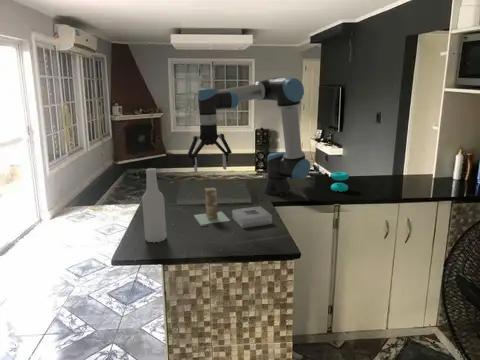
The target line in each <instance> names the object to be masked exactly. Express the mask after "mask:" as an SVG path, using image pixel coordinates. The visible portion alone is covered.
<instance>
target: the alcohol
mask: <svg viewBox="0 0 480 360" xmlns="http://www.w3.org/2000/svg"><path fill="white" fill-rule="evenodd" d="M145 174H146V175H145V176H146V180H145V181H146V182H145V183H146V189H145V192H144V193H143V196H142V197H141V198H142V199H141V204H142V206H141V207H142V216H143V228H144V230H143V231H144V239H145V241H146V242H148V243H150V242H153V243H152V244H154V243H155V242H158V243H161V241H162V242H164V241H165V240H166V238H167V237H168V236H167V221H166V207H165V197H164V194H163V193H162V192H161V191H160V190H159V185H158V179H157V169H156V167H155V168H153V167H148V168H147V169H145ZM155 244H156V243H155Z"/></svg>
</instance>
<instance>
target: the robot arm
mask: <svg viewBox="0 0 480 360" xmlns="http://www.w3.org/2000/svg"><path fill="white" fill-rule="evenodd" d="M197 93H198V95H197V102H198V112H199V119H198V120H199V124H200V125H199V133H200V135H193V137H192V143H191V145H190V147H189V149H188V152H187V154H186V156H187V157H188V158H190V159H191V165H192V166H193V167H194V170H193V171H194V173H195V174H196V173H197V174H198V160H197V155H198V154H199V153H200V151H201V150H202V149H203V147H205V146H209V145H210V146H213V145H215V146H216V147H217V148H218V149H219V150H220V151H221V152H222V153H223V154H222V169H223V170H226V171H227V163H228V162H229V155H230V154H232V153H233V152H232V150H231V147H230V146H229V144H228V143H227V141H226V137H225V134H224V133H220V134H218V125H217V124H216V123H217V121H218V120H217V111H218V110H227V109H228V110H230V109H236V108H237V107H238V105H239V103H241V102H242V103H243V102H247V101H254V100H257V101H264V100H266V101H276V103H277V107H278V108H279V109H280V111H281V112H280V113H281V122H282V130H283V131H282V132H283V133H282V134H283V139H284V151H281V152H271V153H269V154H268V155H267V160H266V167H267V168H266V169H267V170H266V171H267V173H266V174H267V179H266V182H265V186H264V193H265V194H267V195H269V194H273V195H272V196H281V195H280V194H286V195H288V194H287V193H289V194H291V191H292V190H291V185H290V182H289V179H293V180H294V181H295V180H299V181H302V180H304V179H306V177H308V176H309V174H310V171H311V161H310V160H309V159H307V158H306V153H305V152H304V151H302V140H301V130H300V128H301V127H300V119H299V118H300V117H299V109H298V108H299V106H300V104H301V100H302V99H303V98H304V97H303V96H304V93H305V87H304V84H303V83H302V81H301V80H300V79H298V78H297V77H291V76H290V77H272V78H269V79H265V80H260V81H255V82H254V83H253V84H248V85H243V86H242V85H241V86H235V87H229V88H225V89H215V88H213V87H212V88H211V87H210V88H206V87H205V88H199V89H198V92H197ZM218 138H219V139H220V141H221V142H222V144H223V145H224V147H222V145H221V144H220V143H219V141H217V140H218ZM199 140H200V142H199V145H198V146H197V147H196V145H197V143H198V141H199ZM195 147H196V148H195ZM288 178H289V179H288Z"/></svg>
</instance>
